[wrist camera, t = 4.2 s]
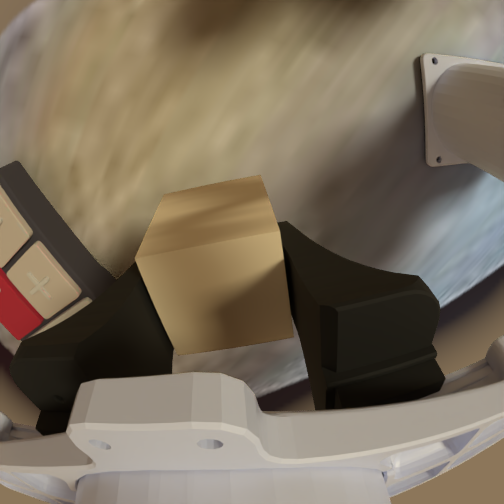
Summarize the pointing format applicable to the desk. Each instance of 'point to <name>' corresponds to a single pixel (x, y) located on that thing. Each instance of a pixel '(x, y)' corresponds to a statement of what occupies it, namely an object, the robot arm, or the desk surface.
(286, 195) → the desk surface
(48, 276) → the calculator
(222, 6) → the desk surface
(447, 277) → the desk surface
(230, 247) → the beech block
